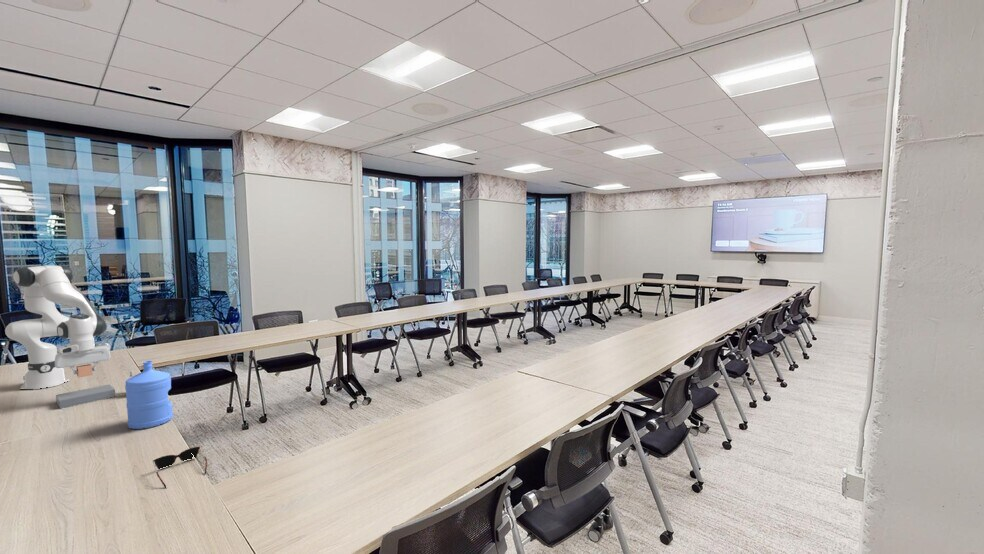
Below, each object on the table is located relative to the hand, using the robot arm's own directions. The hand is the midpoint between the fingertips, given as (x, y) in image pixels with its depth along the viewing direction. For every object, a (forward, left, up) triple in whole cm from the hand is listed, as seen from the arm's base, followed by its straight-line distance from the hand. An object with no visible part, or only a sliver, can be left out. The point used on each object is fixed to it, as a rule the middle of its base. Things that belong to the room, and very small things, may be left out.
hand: (84, 372), depth 206 cm
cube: (0, 0, -2) cm, 2 cm away
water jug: (+61, +12, -15) cm, 64 cm away
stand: (0, 0, -15) cm, 15 cm away
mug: (+9, +18, -15) cm, 25 cm away
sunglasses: (+122, +7, -15) cm, 123 cm away
